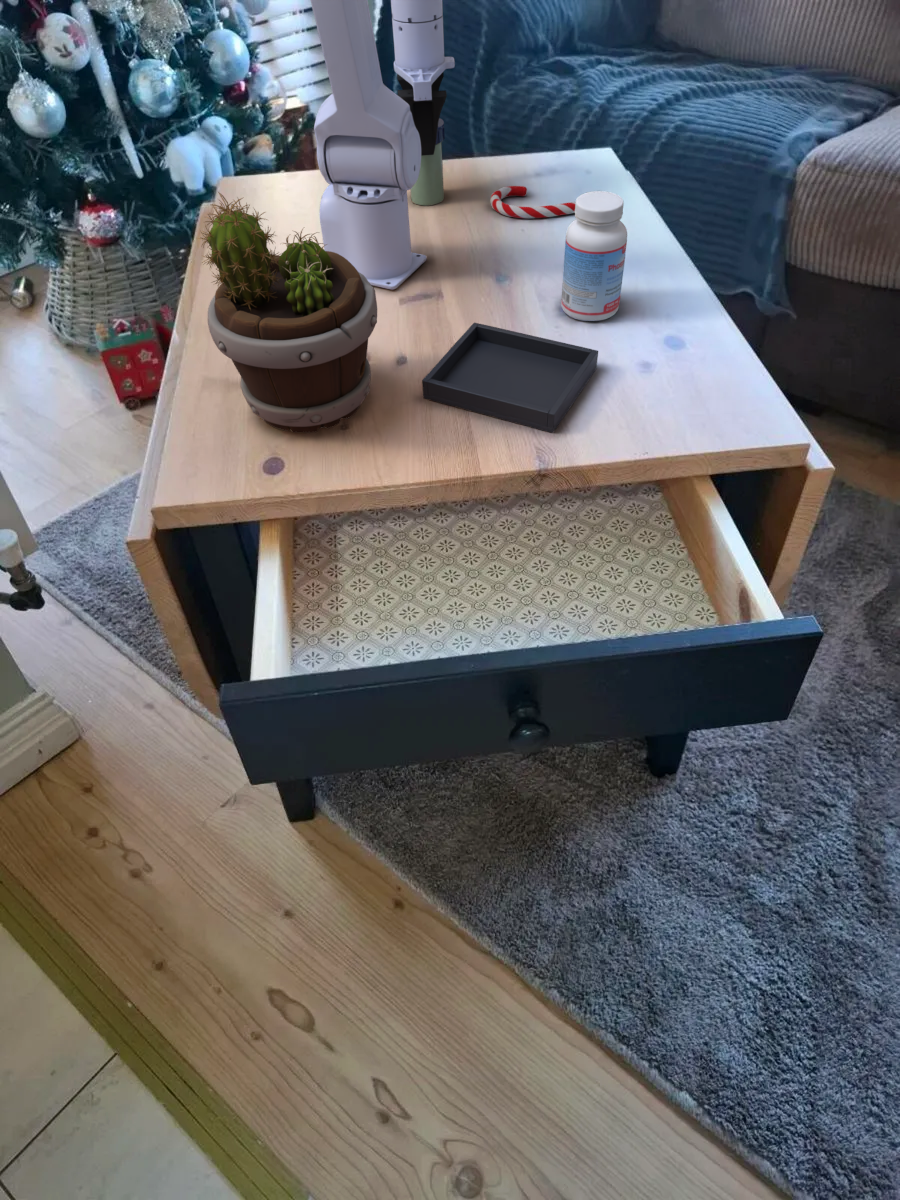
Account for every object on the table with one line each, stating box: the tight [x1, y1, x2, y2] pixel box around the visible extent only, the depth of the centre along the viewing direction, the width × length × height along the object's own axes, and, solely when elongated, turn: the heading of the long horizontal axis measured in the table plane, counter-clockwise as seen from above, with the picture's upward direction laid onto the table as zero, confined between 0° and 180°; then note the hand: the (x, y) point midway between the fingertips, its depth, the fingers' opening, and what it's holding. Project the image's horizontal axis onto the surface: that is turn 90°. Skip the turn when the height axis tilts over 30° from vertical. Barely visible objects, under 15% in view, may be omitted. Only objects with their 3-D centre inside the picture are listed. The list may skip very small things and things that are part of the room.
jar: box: [409, 141, 445, 206], centre depth 106 cm, size 4×4×9 cm
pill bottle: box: [560, 190, 628, 322], centre depth 85 cm, size 6×6×11 cm
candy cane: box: [489, 185, 576, 219], centre depth 106 cm, size 8×1×15 cm
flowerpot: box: [196, 191, 378, 434], centre depth 72 cm, size 14×15×20 cm
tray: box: [421, 322, 599, 433], centre depth 80 cm, size 13×11×2 cm
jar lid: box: [436, 117, 446, 144], centre depth 103 cm, size 5×5×2 cm
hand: (424, 145), depth 104 cm, fingers closed on jar lid, 5 cm apart
